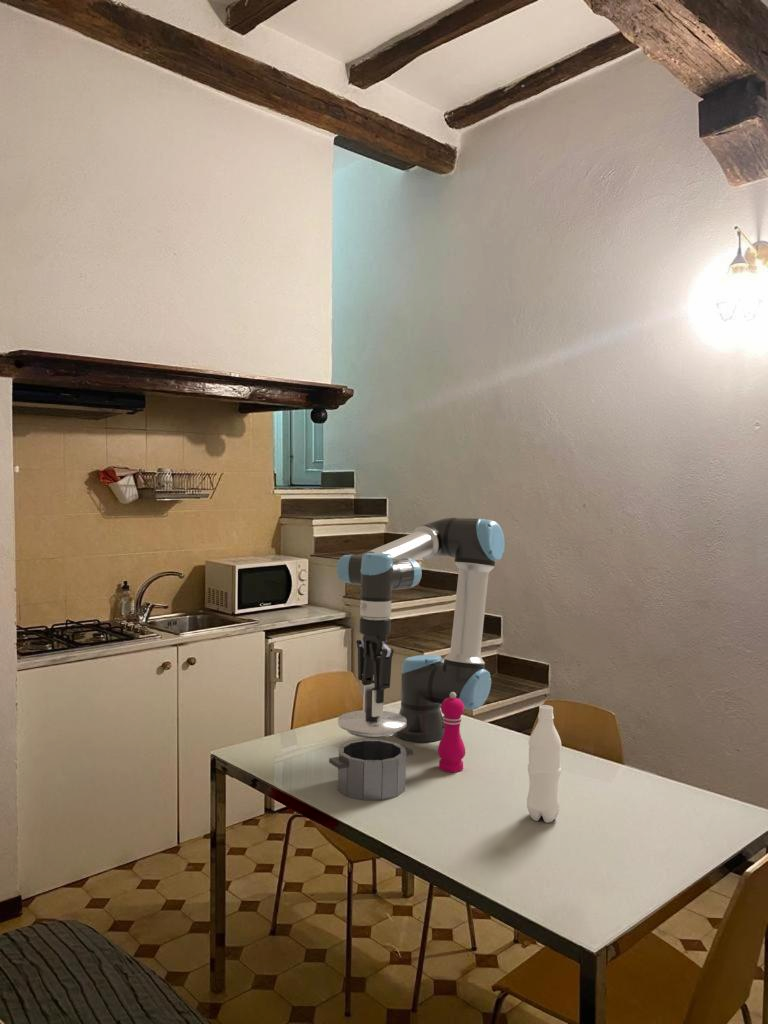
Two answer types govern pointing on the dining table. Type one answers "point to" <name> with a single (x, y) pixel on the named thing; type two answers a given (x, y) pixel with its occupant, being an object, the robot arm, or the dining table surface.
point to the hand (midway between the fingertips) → (372, 713)
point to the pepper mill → (451, 735)
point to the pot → (371, 769)
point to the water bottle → (544, 767)
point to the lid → (371, 722)
